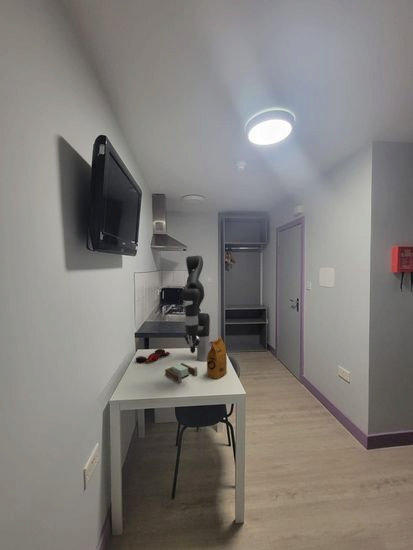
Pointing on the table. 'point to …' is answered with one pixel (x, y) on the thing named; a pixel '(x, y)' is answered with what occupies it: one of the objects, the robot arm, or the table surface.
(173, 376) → the bay
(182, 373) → the cart
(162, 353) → the toy motorcycle
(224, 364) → the coffee package
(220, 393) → the table surface
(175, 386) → the table surface
